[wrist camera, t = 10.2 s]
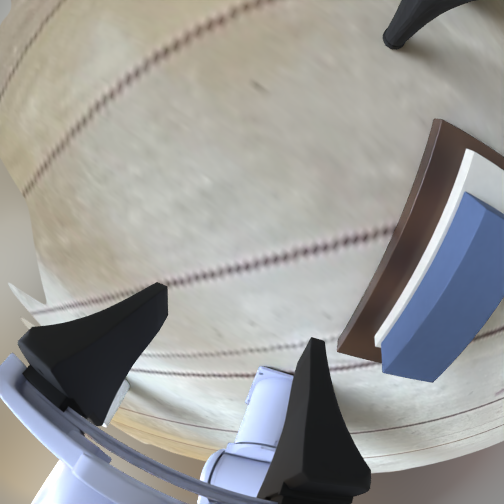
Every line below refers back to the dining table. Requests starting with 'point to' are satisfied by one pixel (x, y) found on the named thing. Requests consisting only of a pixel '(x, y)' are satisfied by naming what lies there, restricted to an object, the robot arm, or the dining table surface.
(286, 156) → the dining table surface
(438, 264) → the blue and white eraser
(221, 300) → the dining table surface
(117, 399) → the white cup
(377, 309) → the shoe shelf
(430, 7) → the high-heeled shoe
